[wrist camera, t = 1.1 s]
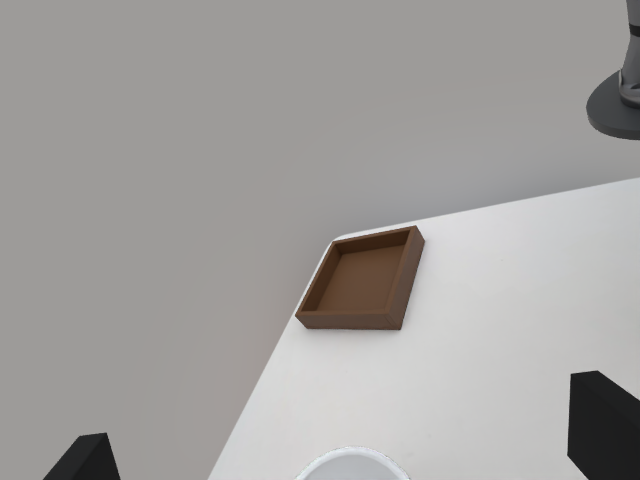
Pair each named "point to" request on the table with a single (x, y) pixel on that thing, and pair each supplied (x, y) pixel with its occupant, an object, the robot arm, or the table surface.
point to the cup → (353, 466)
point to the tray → (364, 282)
